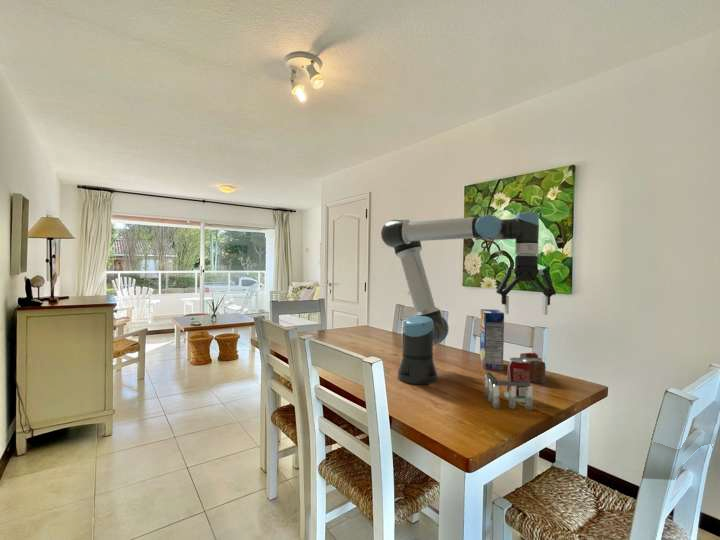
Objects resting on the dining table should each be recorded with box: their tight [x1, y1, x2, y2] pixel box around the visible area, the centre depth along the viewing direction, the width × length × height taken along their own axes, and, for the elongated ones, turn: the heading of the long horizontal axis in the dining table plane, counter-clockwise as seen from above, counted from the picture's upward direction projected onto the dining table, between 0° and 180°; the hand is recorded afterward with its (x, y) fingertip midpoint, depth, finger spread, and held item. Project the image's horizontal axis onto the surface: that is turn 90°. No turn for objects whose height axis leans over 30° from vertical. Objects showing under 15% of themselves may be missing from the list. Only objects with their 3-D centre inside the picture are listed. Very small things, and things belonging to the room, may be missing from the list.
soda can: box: [506, 357, 531, 398], centre depth 119 cm, size 7×7×12 cm
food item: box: [519, 352, 546, 384], centre depth 141 cm, size 14×8×10 cm, turn 170°
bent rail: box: [483, 371, 534, 410], centre depth 116 cm, size 12×11×8 cm
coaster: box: [503, 390, 534, 404], centre depth 120 cm, size 9×9×1 cm
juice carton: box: [479, 308, 505, 371], centre depth 156 cm, size 12×8×24 cm, turn 171°
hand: (525, 313), depth 130 cm, fingers open, 13 cm apart
